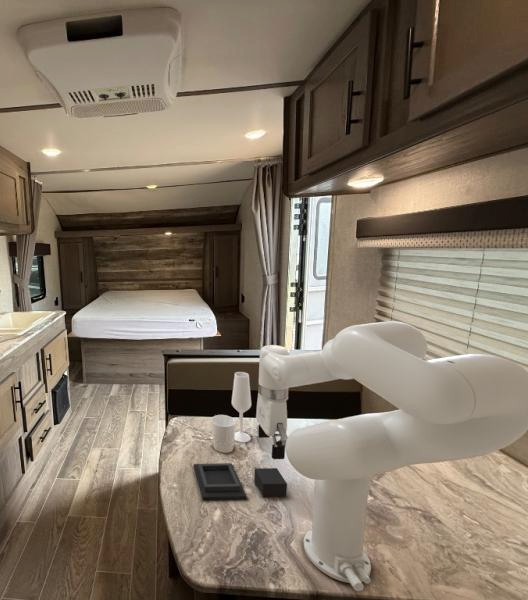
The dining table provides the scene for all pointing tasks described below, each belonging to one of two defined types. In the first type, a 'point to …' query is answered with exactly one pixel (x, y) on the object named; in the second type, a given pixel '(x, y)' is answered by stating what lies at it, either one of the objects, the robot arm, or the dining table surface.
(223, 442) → the white cup
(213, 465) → the base pad
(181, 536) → the dining table surface
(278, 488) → the black pad
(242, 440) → the champagne flute
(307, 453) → the robot arm
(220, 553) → the dining table surface
